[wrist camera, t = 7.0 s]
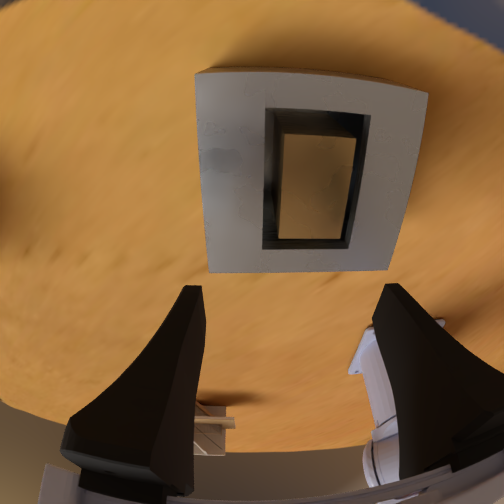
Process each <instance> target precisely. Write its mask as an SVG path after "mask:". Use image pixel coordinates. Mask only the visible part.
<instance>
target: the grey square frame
mask: <svg viewBox="0 0 504 504" xmlns="http://www.w3.org/2000/svg"><path fill="white" fill-rule="evenodd" d="M428 94H429V93H427V92H424V91H421V90H418V89H415V88H412V87H409V86H406V85H403V84H400V83H397V82H393V81H390V80H387V79H382V78H376V77H371V76H364V75H358V74H350V73H343V72H334V71H325V70H314V69H301V68H283V67H217V68H207V69H205V70H203V71H200V72H198V73H196V74H195V95H196V116H197V134H198V150H199V164H200V178H201V191H202V203H203V215H204V226H205V236H206V247H207V257H208V266H209V273H280V272H335V271H374V270H388V267H389V264H390V261H391V258H392V255H393V252H394V249H395V245H396V242H397V239H398V235H399V232H400V228H401V225H402V221H403V218H404V214H405V210H406V207H407V203H408V199H409V195H410V191H411V187H412V182H413V178H414V174H415V169H416V164H417V160H418V155H419V150H420V145H421V139H422V134H423V128H424V122H425V116H426V109H427V102H428ZM274 111H288V112H307V113H321V114H328V115H330V116H331V117H332V118H333V119H334V120H336V121H337V122H338V123H339V124H340V125H341V126H343V127H344V128H345V129H346V130H347V131H348V132H349V133H351V134H352V135H353V136H354V137H355V138H356V145H355V153H354V160H353V166H352V173H351V179H350V186H349V192H348V198H347V203H346V209H345V215H344V220H343V226H342V231H341V236H340V239H279V238H278V232H277V225H276V219H275V213H274V207H273V201H272V194H271V182H272V157H273V129H274Z"/></svg>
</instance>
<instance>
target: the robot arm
mask: <svg viewBox="0 0 504 504" xmlns="http://www.w3.org/2000/svg"><path fill="white" fill-rule="evenodd" d="M372 321H373V327H369V328H367V329H366V330H365V332H364V335H363V337H362V339H361V342H360V344H359V346H358V349H357V351H356V353H355V356H354V358H353V360H352V363H351V365H350V367H349V369H348V373H349V374H359V373H363V377H364V381H365V385H366V389H367V393H368V397H369V401H370V405H371V409H372V414H373V418H374V422H375V427H376V429H374V430H372V431H371V433H372V438H373V439H371V440H369V441H368V442H367V444H366V447H365V449H364V451H363V467H364V473H365V476H366V480H367V483H368V485H369V487H370V488H366V489H361V490H356V491H351V492H345V493H339V494H333V495H326V496H318V497H310V498H300V499H289V500H288V499H287V500H270V501H220V500H202V499H191V498H181V497H185V496H188V495H189V494H191V493H192V492H193V491H194V461H193V460H194V420H195V402H196V394H197V388H198V382H199V376H200V370H201V364H202V359H203V353H204V347H205V334H206V317H205V309H204V301H203V293H202V286H197V285H185V286H184V287H183V289H182V291H181V293H180V294H179V296H178V298H177V300H176V302H175V303H174V305H173V307H172V309H171V310H170V312H169V314H168V315H167V317H166V318H165V320H164V321H163V323H162V324H161V326H160V327H159V329H158V330H157V332H156V333H155V335H154V336H153V337H152V339H151V340H150V341H149V343H148V344H147V346H146V347H145V348H144V349H143V351H142V352H141V353H140V354H139V356H138V357H137V358H136V359H135V360H134V361H133V363H132V364H131V365H130V366H129V367H128V368H127V369H126V370H125V371H124V372H123V373H122V374H121V376H120V377H119V378H118V379H117V380H116V381H115V382H113V383H112V384H111V385H110V386H109V387H108V388H107V389H106V390H105V391H103V392H102V393H101V394H100V395H99V396H98V397H97V398H96V399H94V400H93V401H92V402H91V403H89V404H88V405H87V406H85V407H84V408H82V409H81V410H80V411H78V412H77V413H76V414H74V415H73V416H71V417H70V419H69V421H68V424H67V426H66V429H65V432H64V436H63V440H62V443H61V448H60V452H61V454H62V455H63V456H64V457H65V458H66V459H68V460H69V461H71V462H73V463H74V464H76V465H77V466H79V467H80V468H82V470H81V474H80V475H79V474H77V473H75V472H71V471H69V470H66V469H63V468H60V467H57V466H54V465H51V464H48V463H47V464H46V466H45V470H44V474H43V479H42V484H41V489H40V494H39V500H38V504H375V503H377V504H493V503H495V502H496V501H498V500H499V499H501V498H502V497H504V374H503V373H502V372H500V371H498V370H497V369H495V368H493V367H492V366H490V365H488V364H487V363H485V362H484V361H482V360H481V359H480V358H478V357H477V356H475V355H474V354H473V353H471V352H470V351H469V350H467V349H466V348H465V347H464V346H463V345H461V344H460V343H459V342H458V341H456V340H455V339H454V338H453V337H452V336H451V335H450V334H449V333H448V332H447V331H446V330H444V329H443V326H444V325H445V320H444V319H439V320H434V319H433V318H432V317H431V316H430V315H429V314H428V313H427V312H426V311H425V310H424V309H423V308H422V307H421V306H420V305H419V303H418V302H417V301H416V300H415V299H414V298H413V297H412V296H411V295H410V294H409V293H408V292H407V291H406V290H405V289H404V288H403V287H402V286H401V285H400V284H398V283H391V284H385V286H384V288H383V291H382V294H381V296H380V299H379V302H378V304H377V307H376V309H375V312H374V314H373V317H372ZM177 496H181V497H177Z"/></svg>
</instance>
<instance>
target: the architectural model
mask: <svg viewBox="0 0 504 504" xmlns="http://www.w3.org/2000/svg"><path fill="white" fill-rule="evenodd" d="M226 429H235V421H234V417H226V406H202V405H201V404H200V403H198V402H197V401H196V402H195V420H194V454H195V455H216V456H225V433H226Z"/></svg>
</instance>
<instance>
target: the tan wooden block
mask: <svg viewBox="0 0 504 504" xmlns="http://www.w3.org/2000/svg"><path fill="white" fill-rule="evenodd" d="M355 145H356V138H355V137H354V136H353V135H352V134H351V133H349V132H348V131H347V130H346V129H345V128H344V127H343V126H341V125H340V124H339V123H338V122H337V121H336V120H334V119H333V118H332V117H331V116H330V115H328V114H321V113H307V112H288V111H274V129H273V157H272V182H271V194H272V201H273V207H274V213H275V219H276V225H277V232H278V238H279V239H340V236H341V231H342V226H343V220H344V215H345V209H346V203H347V198H348V192H349V186H350V179H351V173H352V166H353V160H354V153H355Z"/></svg>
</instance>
